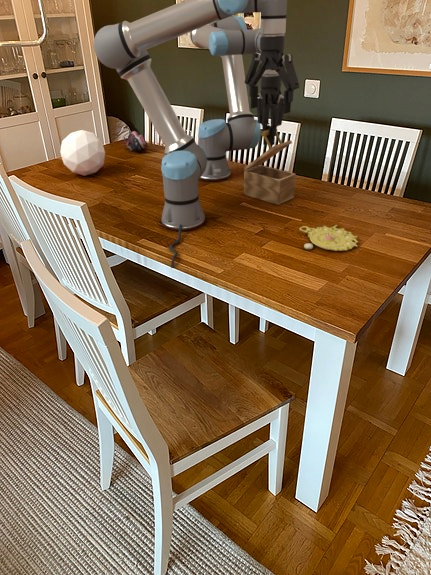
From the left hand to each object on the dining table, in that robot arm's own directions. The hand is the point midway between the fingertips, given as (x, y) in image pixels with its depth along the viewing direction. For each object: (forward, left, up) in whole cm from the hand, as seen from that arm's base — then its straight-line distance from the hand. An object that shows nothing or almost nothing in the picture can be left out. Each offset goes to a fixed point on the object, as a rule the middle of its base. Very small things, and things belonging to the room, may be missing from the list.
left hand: (269, 110), depth 144 cm
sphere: (+60, +70, -35) cm, 99 cm away
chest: (+14, -4, -35) cm, 38 cm away
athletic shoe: (+95, +48, -35) cm, 112 cm away
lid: (+15, -4, -20) cm, 25 cm away
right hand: (+15, -4, -15) cm, 21 cm away
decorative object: (-27, -14, -35) cm, 46 cm away
